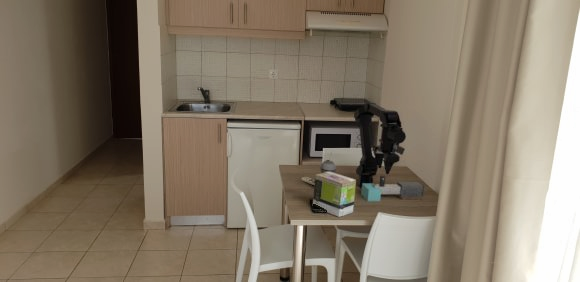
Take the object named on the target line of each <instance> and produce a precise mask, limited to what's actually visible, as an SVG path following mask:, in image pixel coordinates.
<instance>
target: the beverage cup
mask: <svg viewBox="0 0 580 282" xmlns="http://www.w3.org/2000/svg"><path fill="white" fill-rule="evenodd" d="M332 156H333V151H331V152H330V157H329V159H327V160H324V161H323V162H321V166H320V173H325V172H329V171H330V172H333V173H336V170H337V168H336V164H335V162H334V161H332Z"/></svg>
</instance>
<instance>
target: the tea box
mask: <svg viewBox="0 0 580 282" xmlns="http://www.w3.org/2000/svg"><path fill="white" fill-rule="evenodd" d="M356 186H357V179H355V178H352V177H349V176H346V175H342V174H339V173H336V172H335V173H333V172H330V171H329V172H325V173H321V172H320V173H316V174H314V185H313V187H314V188H313V199H312V205H313V204H316V205H318V206H320V207H322V208H324V209H326V210H327V212H326V213H328V214H331V215H333V216H335V217H338V218H339V217H340V218H341V217H343V216H346V215H350V214H352V213H354V206H355V205H354V204H355V196H356Z"/></svg>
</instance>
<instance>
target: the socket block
mask: <svg viewBox="0 0 580 282" xmlns="http://www.w3.org/2000/svg"><path fill="white" fill-rule="evenodd" d="M372 184H375V183H374V182H373V183H362V188H361V193H360V194H361V196H362V197H363V199H365V200H366V201H367V202H381V195H382V194H381V189H380V188H374V187H373V186H372Z"/></svg>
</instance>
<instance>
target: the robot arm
mask: <svg viewBox="0 0 580 282" xmlns="http://www.w3.org/2000/svg"><path fill="white" fill-rule="evenodd" d="M374 116H376V117H378V118H379V119H378V120H379V121H380V122H381V123H380V125H379V127H381V133H380V138H379V139H378V142H379V144H377V145H373V146H372V140H371V132H370V131H371V130H370V125H371V124H372V122H373V121H372V119H373V117H374ZM353 118H354V121H355V124H356V126H357V127H358V128H359V137H360V146H361V148H360V149H361V157H360V160H359V165H358V166H357V168H356V169H355V174H356V175H358V178H357V182H356V186H358V187H359V189H362V183H374V178H373V176H375V177H376V175H377V171H378V169H382V166H383V165H384V171H385V174H386V175H389V174H390V172H391V171H392V170H391V169H392V168H393V166H394V164H395V163H398V162H400V157H401V156H402V155H403V154H404V152H405V150H406V148H405V147H402V146H401V145H400V144H402V143H404V142H405V140H406V136H407V135H406V132H405V131H403V129H404V128H403V126H402V121H401V119H400V115H399V112H398V111H397V110H390V109H386V108H384V107H383V106H380V105H378V104H377V103H376V102H366V103H364V105H362V106H360V107H358V108H357V109H356V110H355V112H354V113H353ZM399 155H401V156H399Z"/></svg>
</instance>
